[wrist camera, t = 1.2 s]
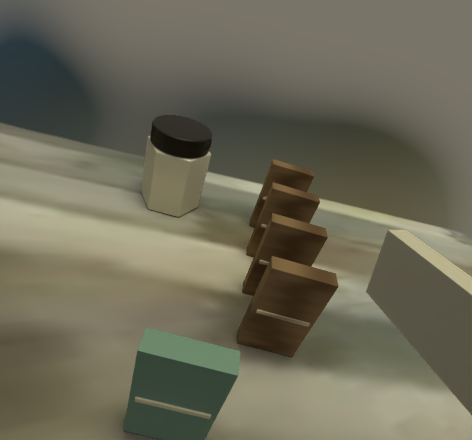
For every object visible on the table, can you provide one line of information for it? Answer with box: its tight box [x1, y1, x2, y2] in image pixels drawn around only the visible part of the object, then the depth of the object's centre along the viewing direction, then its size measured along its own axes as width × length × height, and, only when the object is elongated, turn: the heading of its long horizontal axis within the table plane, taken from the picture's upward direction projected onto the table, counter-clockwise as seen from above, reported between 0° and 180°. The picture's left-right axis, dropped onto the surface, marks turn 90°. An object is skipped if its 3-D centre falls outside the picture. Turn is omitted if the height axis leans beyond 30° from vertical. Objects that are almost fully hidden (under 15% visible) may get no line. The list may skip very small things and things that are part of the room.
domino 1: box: [250, 160, 314, 227], centre depth 49 cm, size 6×2×11 cm, turn 84°
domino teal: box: [124, 327, 240, 440], centre depth 23 cm, size 6×2×11 cm, turn 84°
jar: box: [141, 115, 212, 217], centre depth 47 cm, size 9×8×12 cm
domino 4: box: [237, 256, 338, 357], centre depth 32 cm, size 6×2×11 cm, turn 84°
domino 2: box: [246, 182, 320, 257], centre depth 43 cm, size 6×2×11 cm, turn 84°
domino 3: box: [242, 213, 328, 296], centre depth 37 cm, size 6×2×11 cm, turn 84°
